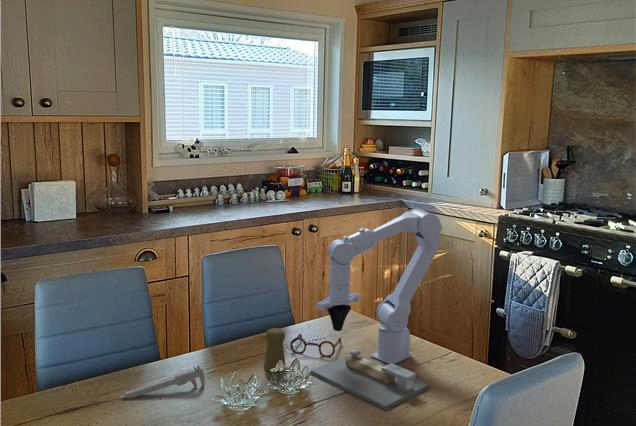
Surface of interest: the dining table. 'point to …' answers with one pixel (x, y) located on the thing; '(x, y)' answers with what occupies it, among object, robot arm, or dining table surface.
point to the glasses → (313, 344)
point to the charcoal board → (366, 384)
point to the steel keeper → (401, 376)
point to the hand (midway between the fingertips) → (337, 330)
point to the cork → (274, 348)
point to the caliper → (169, 383)
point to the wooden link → (367, 367)
